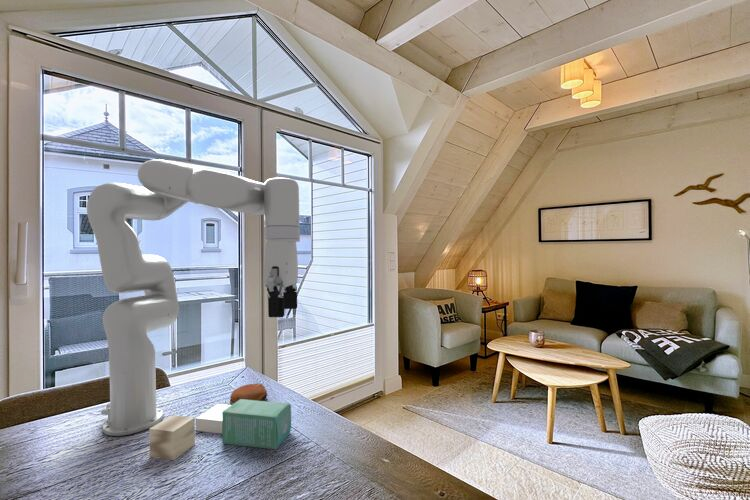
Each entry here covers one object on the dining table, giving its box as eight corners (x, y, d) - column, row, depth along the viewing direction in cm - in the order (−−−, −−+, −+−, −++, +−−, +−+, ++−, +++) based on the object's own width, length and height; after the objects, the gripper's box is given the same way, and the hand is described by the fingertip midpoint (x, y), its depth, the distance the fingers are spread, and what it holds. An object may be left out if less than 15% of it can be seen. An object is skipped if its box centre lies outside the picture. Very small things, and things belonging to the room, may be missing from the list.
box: (278, 450, 75) (277, 415, 75) (221, 445, 78) (220, 411, 78) (292, 433, 82) (291, 401, 82) (240, 428, 85) (239, 398, 85)
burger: (223, 411, 94) (223, 393, 94) (239, 396, 103) (239, 380, 103) (259, 412, 93) (259, 394, 93) (272, 397, 103) (272, 381, 103)
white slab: (195, 430, 84) (195, 418, 84) (217, 415, 92) (217, 403, 92) (225, 434, 82) (224, 421, 82) (245, 417, 90) (244, 406, 90)
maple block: (149, 457, 74) (149, 428, 74) (172, 441, 80) (171, 415, 79) (173, 460, 72) (173, 431, 72) (195, 444, 78) (194, 417, 78)
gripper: (278, 236, 86) (279, 306, 86) (249, 234, 69) (251, 320, 69) (308, 236, 86) (309, 305, 86) (287, 233, 68) (288, 320, 69)
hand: (283, 312), depth 77 cm, fingers open, 9 cm apart
